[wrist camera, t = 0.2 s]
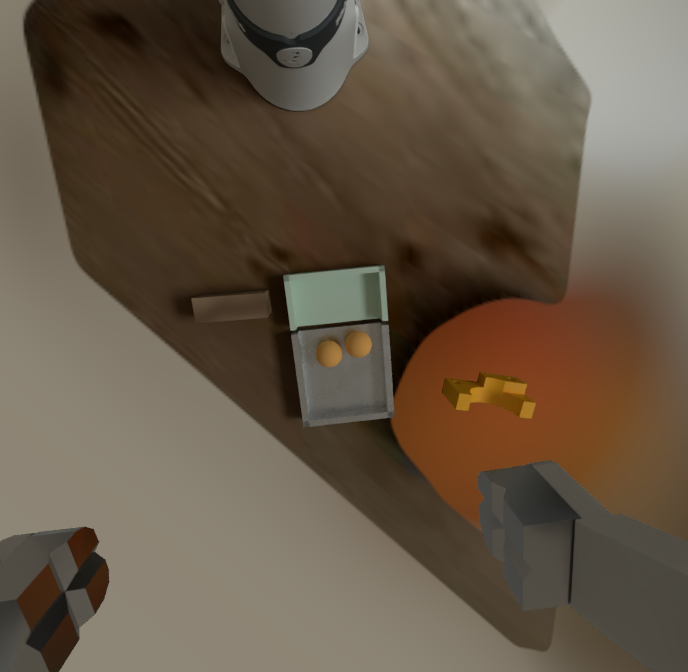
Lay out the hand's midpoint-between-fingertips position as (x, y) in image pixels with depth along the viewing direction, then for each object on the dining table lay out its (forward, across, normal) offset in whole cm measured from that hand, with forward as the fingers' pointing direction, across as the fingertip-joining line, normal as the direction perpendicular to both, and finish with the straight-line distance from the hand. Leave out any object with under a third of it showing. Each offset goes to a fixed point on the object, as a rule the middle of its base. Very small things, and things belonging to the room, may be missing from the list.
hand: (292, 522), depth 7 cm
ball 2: (+44, -4, +9) cm, 45 cm away
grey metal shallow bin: (+47, -2, +14) cm, 49 cm away
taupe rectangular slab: (+47, +13, +1) cm, 49 cm away
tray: (+47, -2, +2) cm, 47 cm away
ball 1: (+44, 0, +10) cm, 45 cm away
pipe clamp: (+48, -24, +20) cm, 57 cm away
